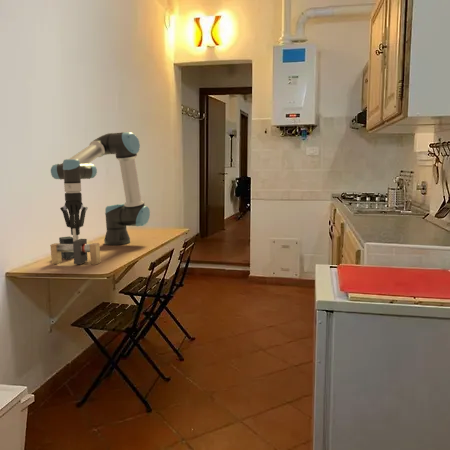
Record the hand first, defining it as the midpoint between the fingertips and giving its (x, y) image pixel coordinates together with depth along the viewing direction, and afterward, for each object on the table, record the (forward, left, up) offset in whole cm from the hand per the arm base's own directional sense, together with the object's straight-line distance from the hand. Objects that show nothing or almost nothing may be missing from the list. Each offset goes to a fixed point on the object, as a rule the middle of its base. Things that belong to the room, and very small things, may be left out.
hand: (75, 241), depth 224 cm
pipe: (0, -1, -11) cm, 11 cm away
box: (-13, -12, -11) cm, 21 cm away
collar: (0, +2, -4) cm, 4 cm away
